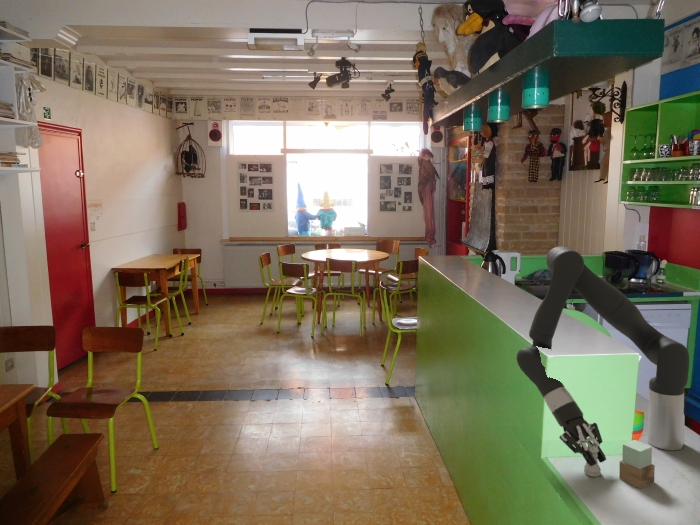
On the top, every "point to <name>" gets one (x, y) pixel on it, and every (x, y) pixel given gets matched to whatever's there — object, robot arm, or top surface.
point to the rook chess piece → (595, 469)
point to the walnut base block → (637, 474)
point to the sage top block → (637, 454)
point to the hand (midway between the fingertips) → (598, 462)
